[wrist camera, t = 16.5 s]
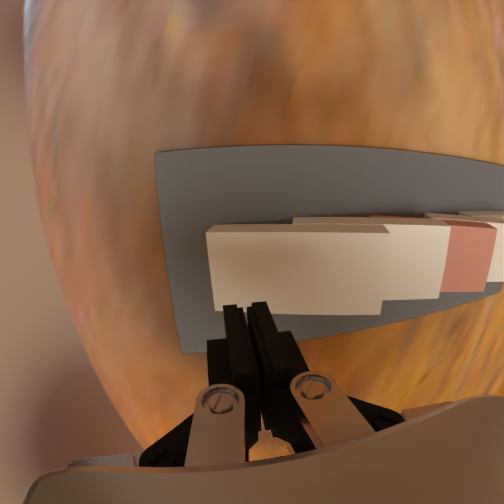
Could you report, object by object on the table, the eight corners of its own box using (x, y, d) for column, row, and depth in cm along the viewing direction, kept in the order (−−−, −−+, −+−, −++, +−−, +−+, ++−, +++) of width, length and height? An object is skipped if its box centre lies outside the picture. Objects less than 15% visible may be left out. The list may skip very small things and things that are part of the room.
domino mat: (496, 289, 26) (500, 291, 25) (182, 349, 21) (182, 354, 21) (517, 168, 21) (521, 169, 20) (156, 152, 17) (154, 153, 16)
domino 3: (364, 281, 21) (475, 282, 19) (367, 291, 20) (483, 291, 18) (370, 215, 19) (487, 222, 18) (375, 220, 18) (497, 228, 16)
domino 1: (221, 298, 20) (375, 301, 18) (215, 310, 18) (380, 314, 16) (214, 224, 18) (383, 225, 16) (205, 232, 17) (390, 233, 15)
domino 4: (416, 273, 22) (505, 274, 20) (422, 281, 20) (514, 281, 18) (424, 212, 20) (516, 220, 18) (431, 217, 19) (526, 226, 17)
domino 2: (294, 289, 20) (430, 287, 19) (293, 300, 19) (438, 298, 17) (293, 216, 19) (440, 219, 17) (292, 223, 17) (450, 226, 15)
